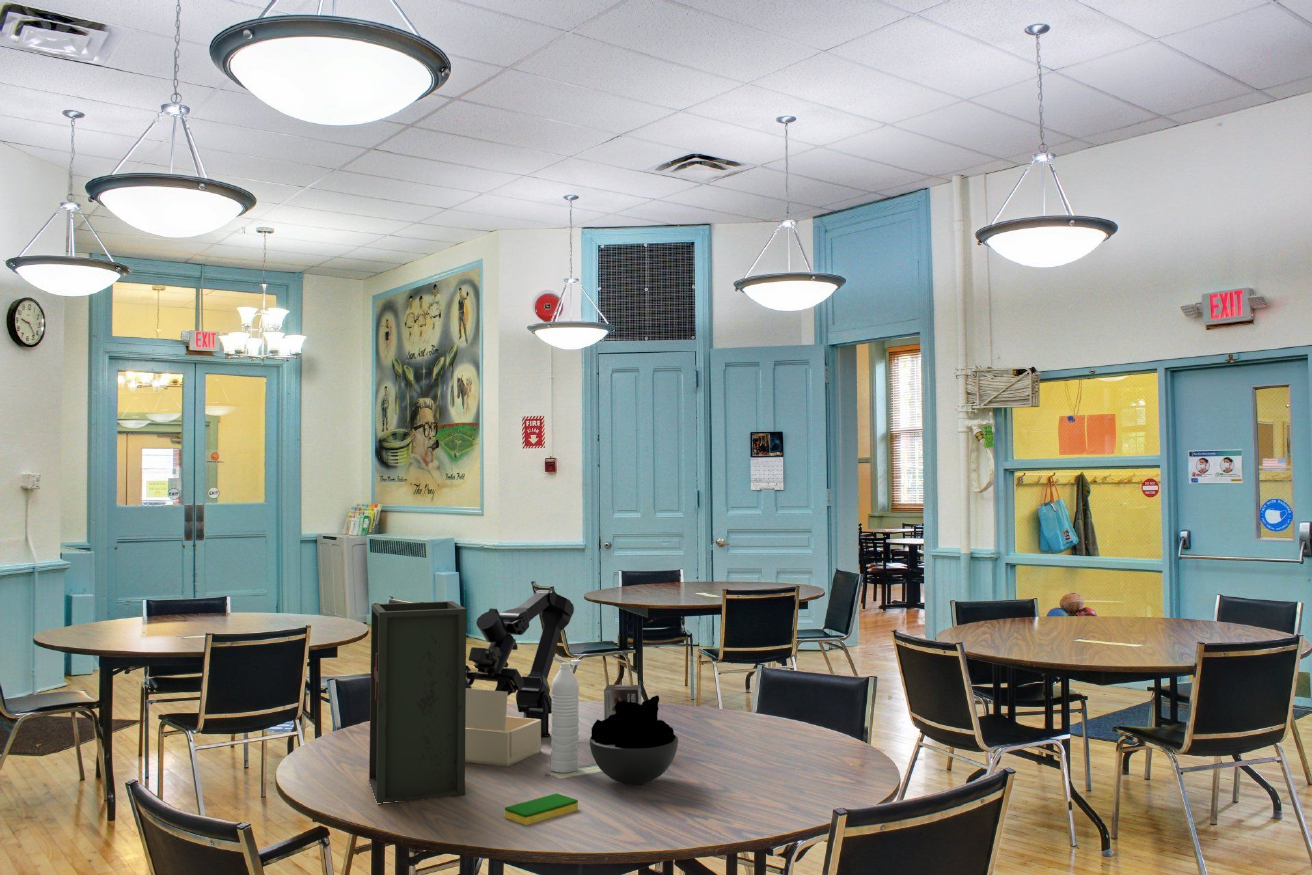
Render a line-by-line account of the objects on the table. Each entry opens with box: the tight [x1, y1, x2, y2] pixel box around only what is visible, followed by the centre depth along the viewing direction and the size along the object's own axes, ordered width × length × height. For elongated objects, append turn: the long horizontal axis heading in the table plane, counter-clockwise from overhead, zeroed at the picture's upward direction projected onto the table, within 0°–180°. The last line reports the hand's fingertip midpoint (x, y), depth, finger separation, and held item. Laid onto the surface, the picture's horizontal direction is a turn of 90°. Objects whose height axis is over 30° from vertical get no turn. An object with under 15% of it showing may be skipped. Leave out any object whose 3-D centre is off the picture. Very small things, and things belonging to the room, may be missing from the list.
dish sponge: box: [504, 793, 579, 826], centre depth 207 cm, size 7×14×2 cm, turn 135°
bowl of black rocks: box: [589, 694, 679, 786], centre depth 229 cm, size 20×20×19 cm
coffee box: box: [603, 684, 642, 720], centre depth 259 cm, size 9×6×16 cm
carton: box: [465, 715, 542, 768], centre depth 255 cm, size 16×21×8 cm
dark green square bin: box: [368, 600, 467, 804], centre depth 226 cm, size 18×18×40 cm
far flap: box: [465, 688, 509, 730], centre depth 248 cm, size 9×19×1 cm
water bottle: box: [550, 659, 582, 774], centre depth 242 cm, size 9×6×25 cm
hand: (473, 706), depth 248 cm, fingers open, 9 cm apart
